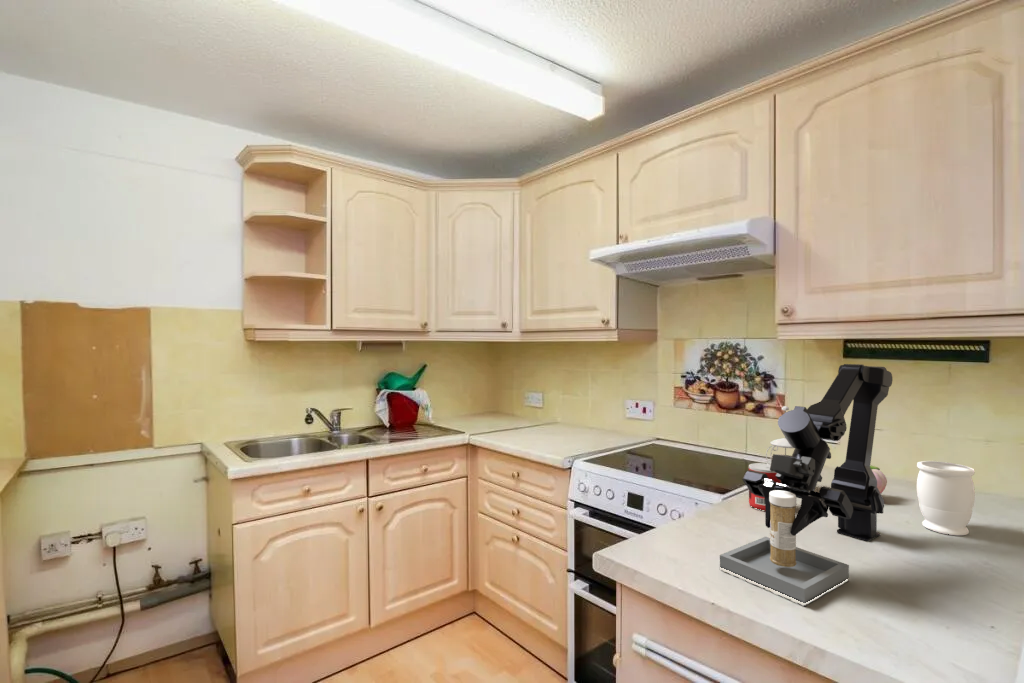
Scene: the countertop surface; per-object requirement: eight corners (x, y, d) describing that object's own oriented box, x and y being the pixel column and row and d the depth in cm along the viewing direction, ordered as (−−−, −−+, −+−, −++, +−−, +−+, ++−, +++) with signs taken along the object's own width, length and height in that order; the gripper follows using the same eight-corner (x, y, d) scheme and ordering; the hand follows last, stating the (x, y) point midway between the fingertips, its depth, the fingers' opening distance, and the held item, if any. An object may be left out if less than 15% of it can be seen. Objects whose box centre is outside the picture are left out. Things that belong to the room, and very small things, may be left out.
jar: (916, 517, 125) (916, 458, 124) (973, 527, 118) (972, 464, 118) (916, 530, 116) (916, 466, 116) (976, 542, 110) (976, 474, 110)
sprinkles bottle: (768, 556, 98) (767, 488, 98) (794, 559, 97) (793, 490, 97) (772, 566, 94) (771, 495, 94) (799, 569, 92) (798, 497, 92)
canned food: (788, 512, 129) (787, 470, 129) (757, 512, 129) (756, 470, 129) (773, 502, 137) (773, 462, 137) (743, 502, 137) (743, 462, 137)
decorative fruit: (857, 492, 145) (857, 458, 145) (890, 499, 139) (890, 463, 139) (843, 498, 140) (843, 462, 140) (877, 506, 133) (877, 468, 133)
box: (848, 580, 93) (848, 564, 93) (804, 606, 84) (804, 589, 84) (765, 550, 106) (765, 536, 106) (719, 570, 98) (719, 554, 98)
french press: (785, 496, 142) (784, 409, 142) (755, 484, 153) (754, 403, 153) (812, 493, 145) (812, 407, 144) (781, 482, 156) (781, 402, 156)
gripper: (746, 431, 105) (716, 494, 99) (846, 447, 90) (818, 522, 83) (766, 462, 110) (739, 524, 103) (864, 482, 94) (839, 556, 88)
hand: (779, 530), depth 94 cm, fingers closed on sprinkles bottle, 4 cm apart
